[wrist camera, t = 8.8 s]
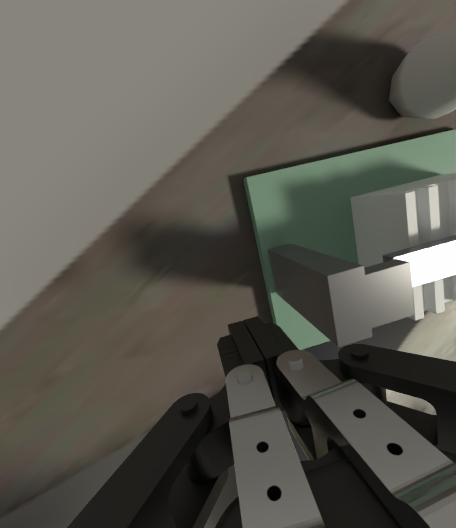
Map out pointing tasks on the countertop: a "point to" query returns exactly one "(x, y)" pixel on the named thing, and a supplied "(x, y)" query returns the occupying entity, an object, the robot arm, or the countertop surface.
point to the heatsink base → (328, 208)
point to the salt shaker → (427, 78)
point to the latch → (342, 291)
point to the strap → (429, 260)
